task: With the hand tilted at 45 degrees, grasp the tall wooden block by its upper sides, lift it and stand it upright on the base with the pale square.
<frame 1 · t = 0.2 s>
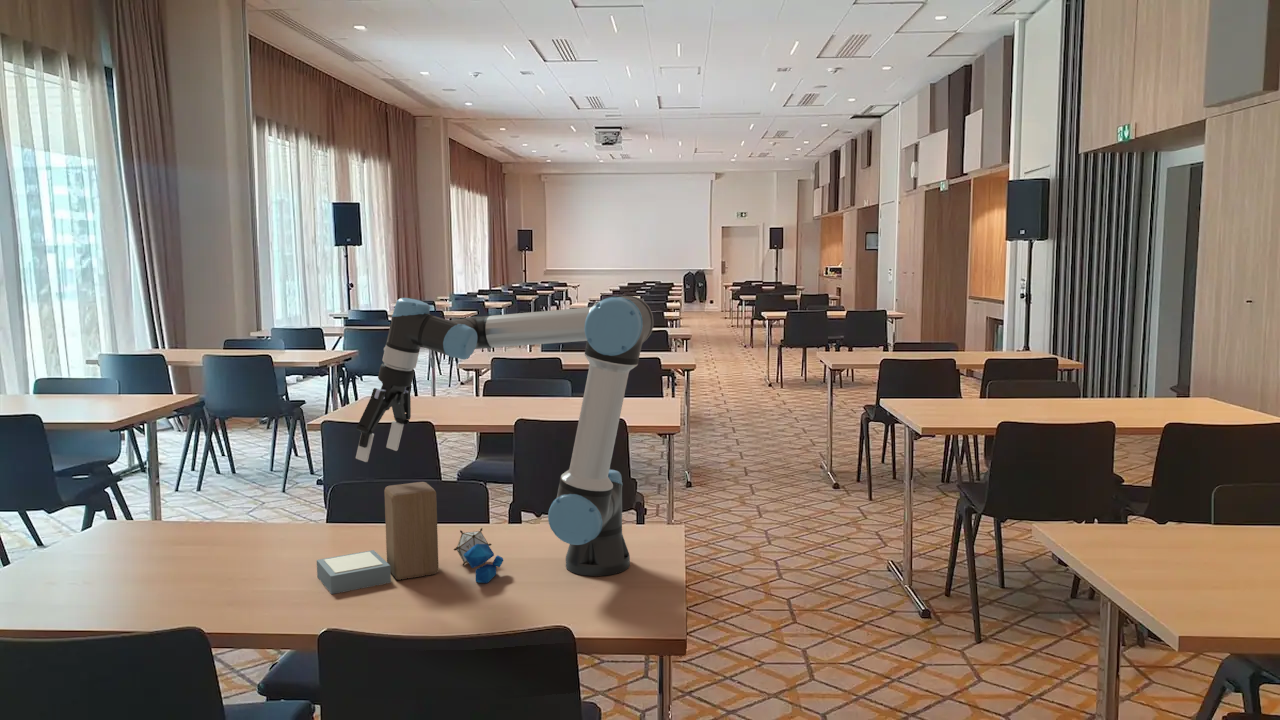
hand: (377, 454, 207), 28 cm above the table, tool tilted 15°, fingers open, 13 cm apart
blue faceted figurine: (484, 580, 204), on the table
base: (353, 579, 204), on the table
wooden block: (412, 572, 209), on the table
game die: (472, 564, 215), on the table
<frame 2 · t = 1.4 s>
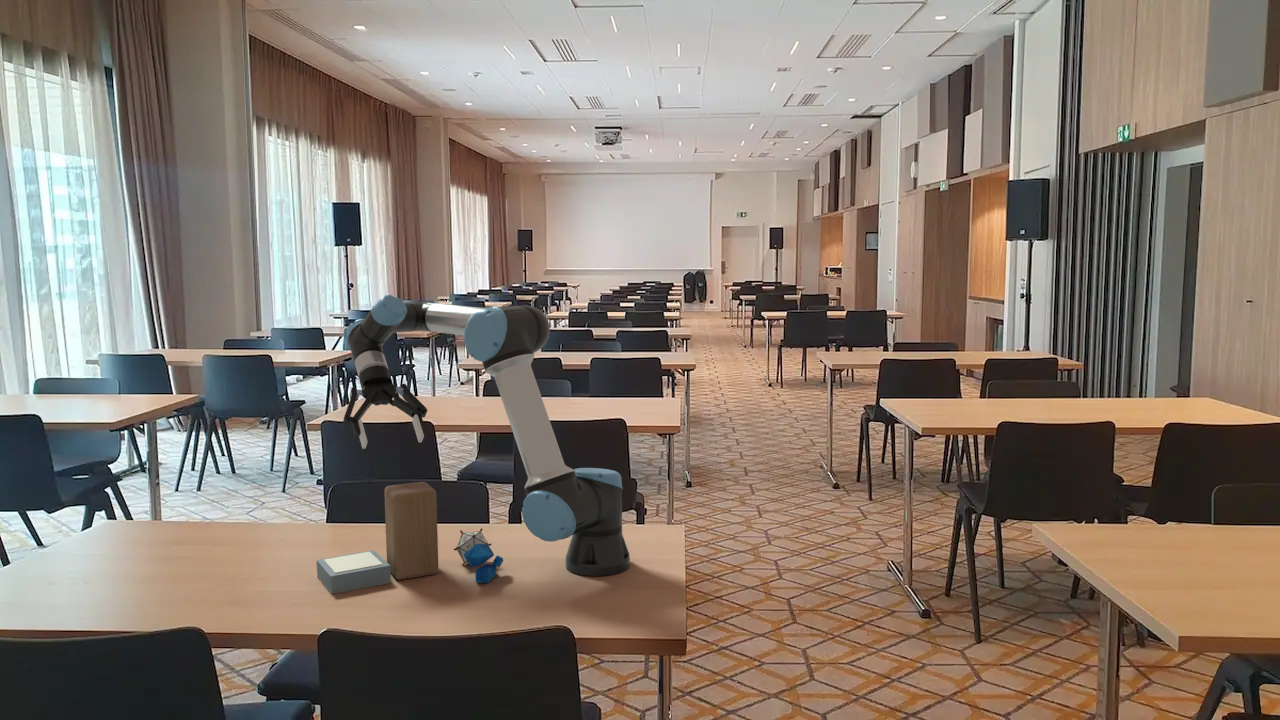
hand: (393, 442, 215), 29 cm above the table, tool tilted 45°, fingers open, 13 cm apart
nothing on the table moved.
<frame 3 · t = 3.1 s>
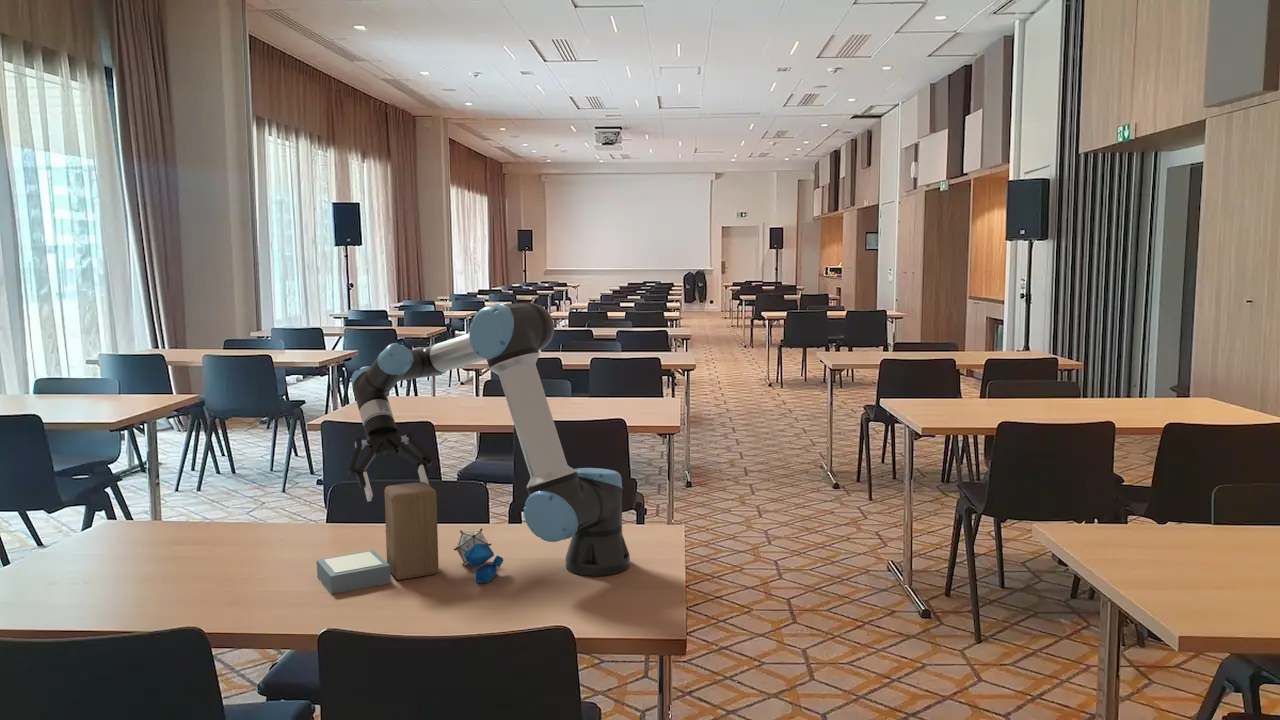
hand: (399, 494, 213), 17 cm above the table, tool tilted 45°, fingers open, 13 cm apart
nothing on the table moved.
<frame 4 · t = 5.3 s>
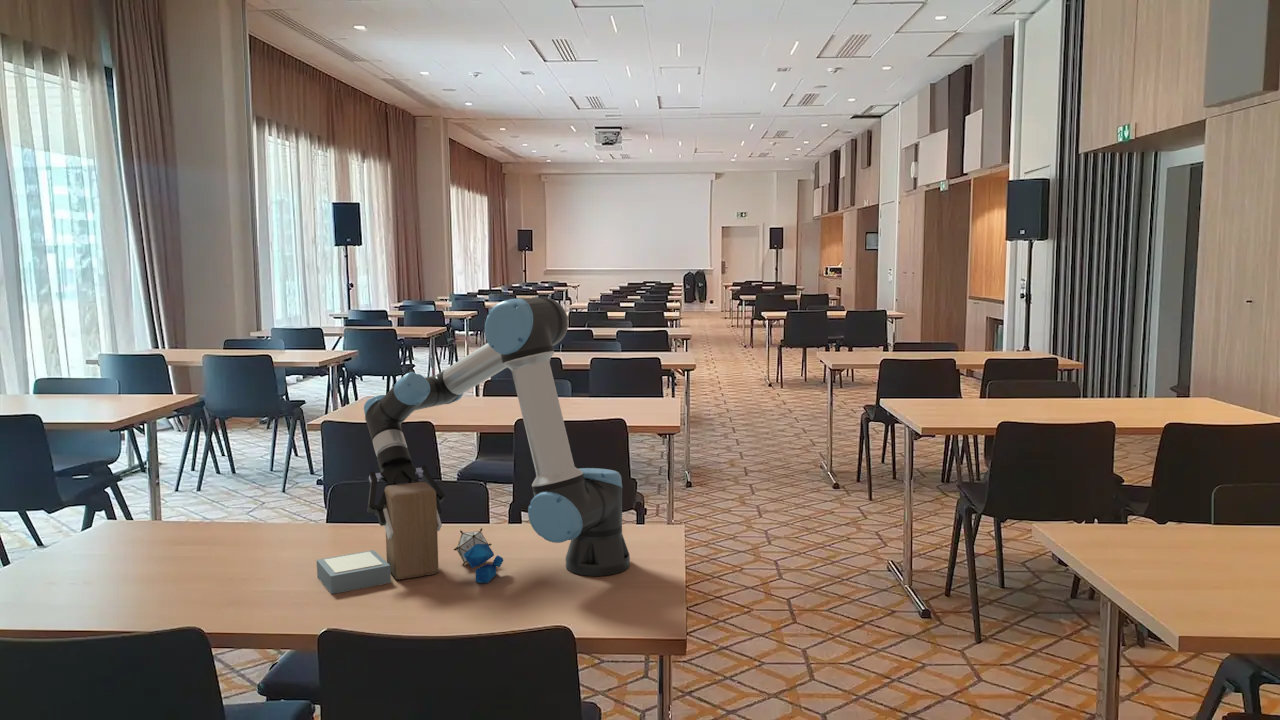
hand: (415, 532, 206), 10 cm above the table, tool tilted 45°, fingers closed on wooden block, 10 cm apart
wooden block: (412, 572, 209), on the table, touching gripper
everything else where it was.
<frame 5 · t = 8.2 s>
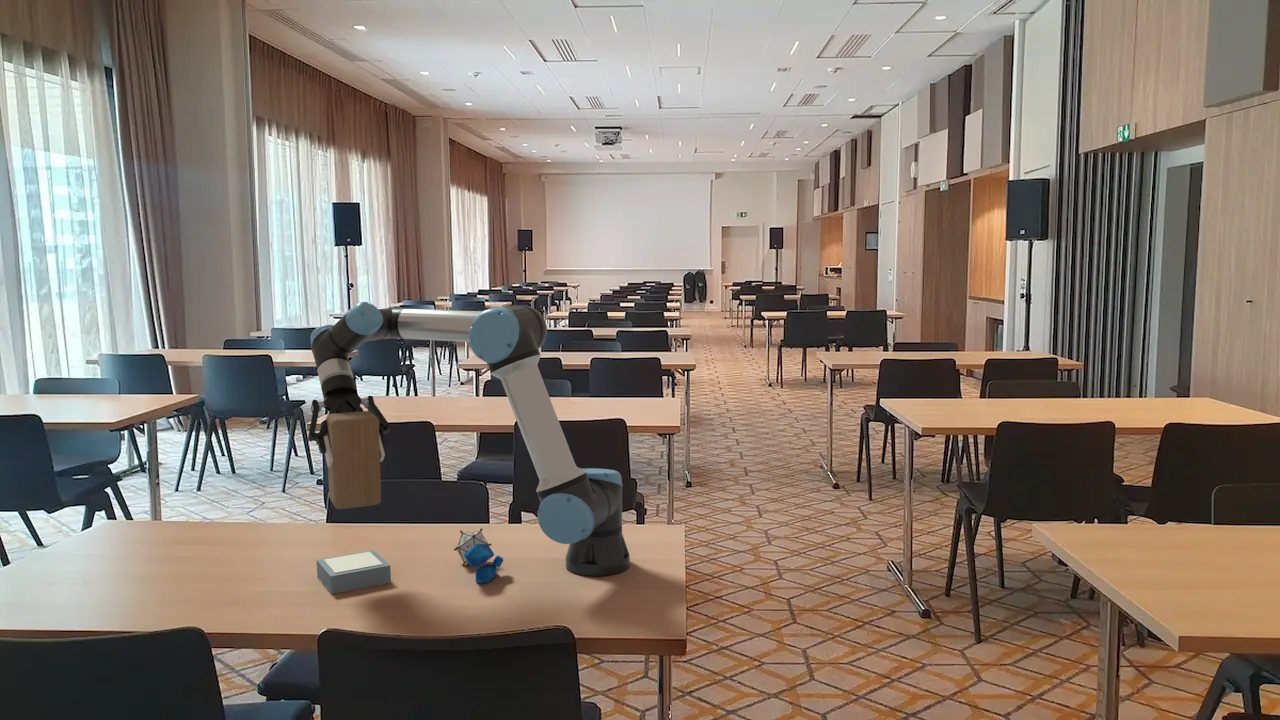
hand: (356, 461, 200), 28 cm above the table, tool tilted 45°, fingers closed on wooden block, 10 cm apart
wooden block: (355, 503, 203), point 17 cm above the table, touching gripper
everything else where it was.
when the fingers open (16 cm above the table, at t = 11.1 s): wooden block drops 1 cm, resting on base.
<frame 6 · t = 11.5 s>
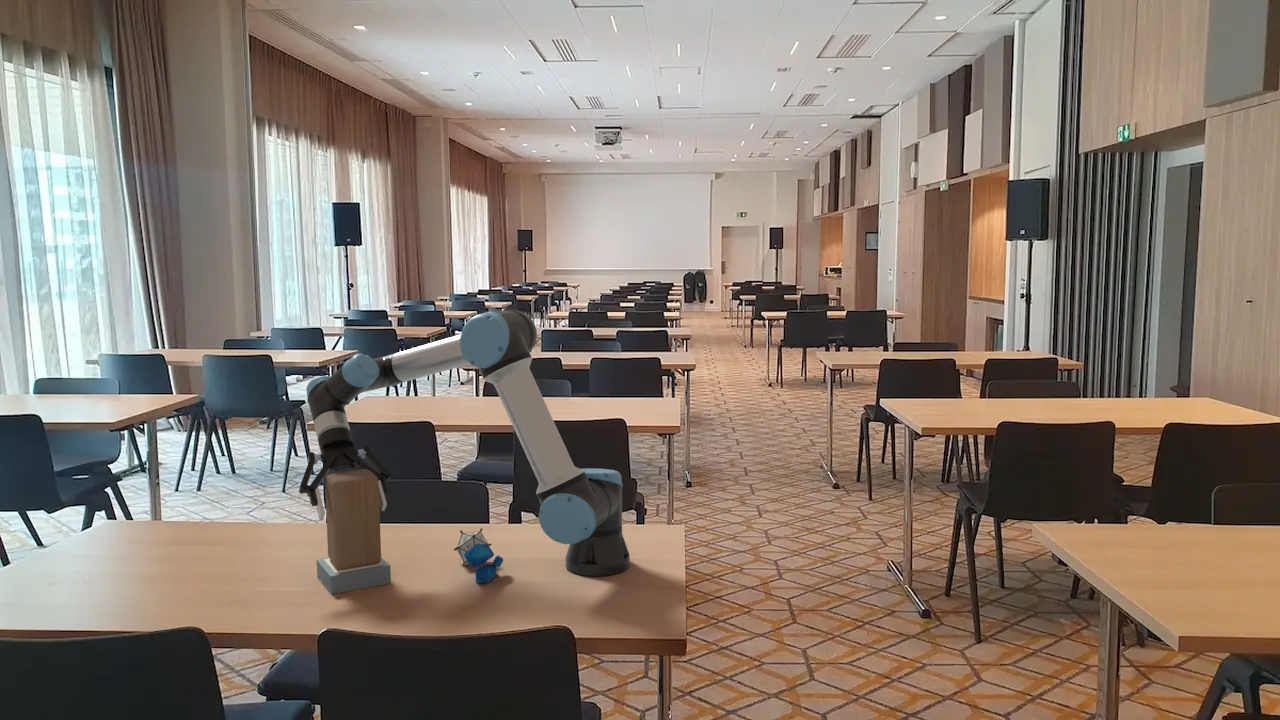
hand: (353, 512, 201), 16 cm above the table, tool tilted 45°, fingers open, 13 cm apart
wooden block: (354, 562, 204), point 4 cm above the table, touching base
everything else where it was.
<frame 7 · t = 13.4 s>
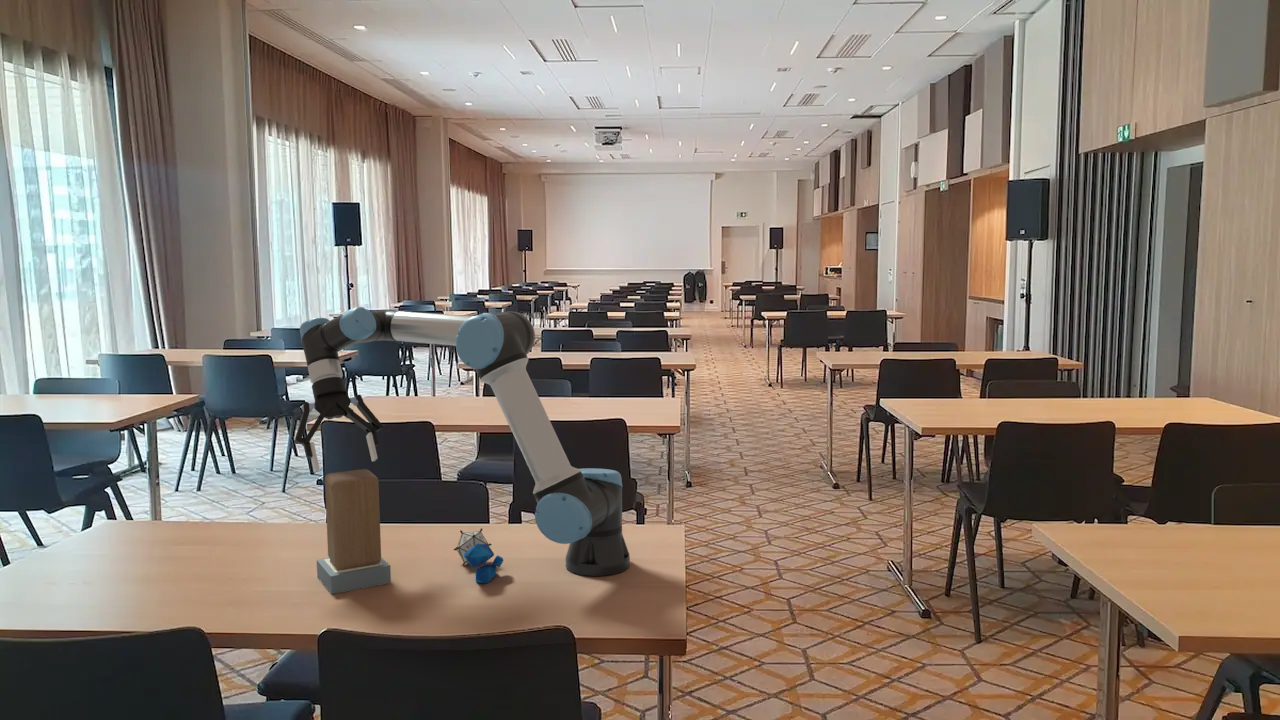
hand: (346, 465, 212), 24 cm above the table, tool tilted 25°, fingers open, 13 cm apart
nothing on the table moved.
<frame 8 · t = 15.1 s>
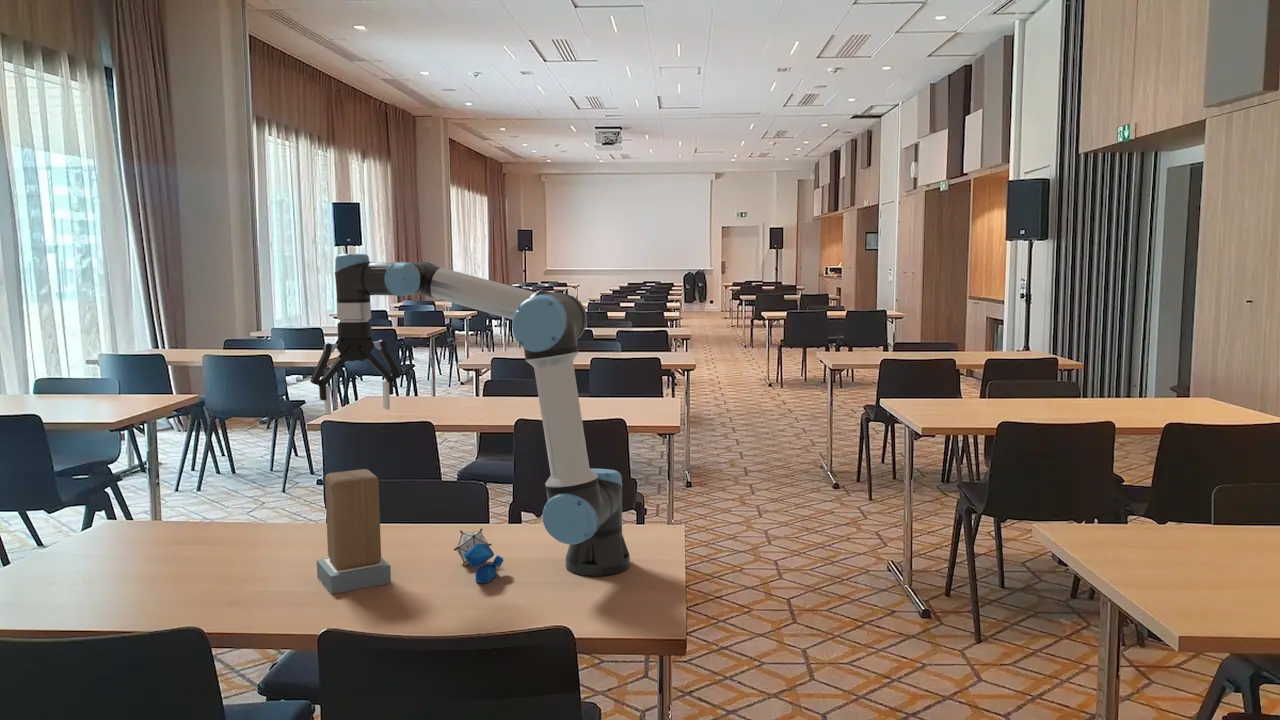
hand: (357, 411, 211), 37 cm above the table, tool pointing down, fingers open, 13 cm apart
nothing on the table moved.
at the end: wooden block inside the target area on the base (0.4 cm from its centre), point 4.0 cm above the base's base; wooden block tilted 0°; the gripper is holding nothing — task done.
